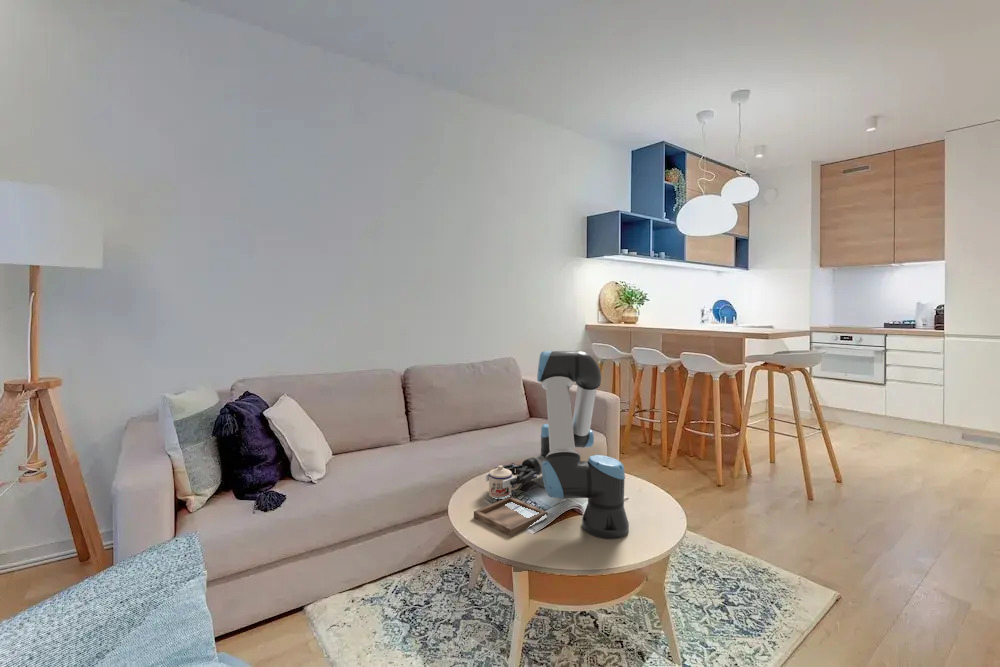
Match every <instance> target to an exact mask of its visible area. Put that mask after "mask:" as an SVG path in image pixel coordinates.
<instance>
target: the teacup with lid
mask: <svg viewBox="0 0 1000 667" xmlns="http://www.w3.org/2000/svg"><path fill="white" fill-rule="evenodd" d="M503 466H504V465H498V466H497V467H498V468H496V469H495V468H493V469H491V470H489V472H488V473H489V481H488V484H489V485H488V490H489V491H488V495H489V497H490V498H491V497H495V498H500V497H505V496H507V495H509V494H510V493H511V494H512V491H515V490H517V489H518V488H519V487H520V484H516V486H515V487H512V486H509V487H507V488H502V486H503V481H504V480H506V479H509V478H512V477H513V474H512V472H511V471H510V470H508V469H505V468H503ZM515 477H516V478H517V476H515Z"/></svg>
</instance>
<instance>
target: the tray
mask: <svg viewBox="0 0 1000 667" xmlns="http://www.w3.org/2000/svg"><path fill="white" fill-rule="evenodd" d="M509 502H513V503H515V504H517V505H520V506H522V507H525V508H528V509H531V510H534V511H536V512H539V514H537V515H534V516H532V517H530V518H526V517H524V516H523V515H521V514H519V513H518V512H517V511H514V510H511V509H510V508H508V507H507V506H505V504H507V503H509ZM546 513H547V514H548V511H546V510H543V509H541V508H539V507H536V506H533V505H532V504H529V503H527V502H525V501H522V500H520V499H517V498H516V497H512V496H511V497H507V498H505V499H502V500H498V501H496V502H493V503H491V504H488V505H486V506H483V507H481V508H478V509H476V510H473V519H475V520H477V521H478V522H480V523H483V524H485V525H487V526H488V527H489V526H490V527H491V528H493V529H495V530H497V531H499V532H501V533H503V534H505V535H506V536H509V537H510V536H511V537H513V536H515V535H517V534H519V533H521V532H523V531H525V530H528V529H529V528H530V527H529V526H530V525H532V524H533V523H534V522H536V521H537V520H539V519H540V518H541V517H542V516H544V515H545V514H546ZM528 527H529V528H528Z"/></svg>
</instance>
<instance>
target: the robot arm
mask: <svg viewBox="0 0 1000 667" xmlns="http://www.w3.org/2000/svg"><path fill="white" fill-rule="evenodd" d="M536 377H537V378H536V379H537V382H538V383H541V387H542V389H543V390H545V395H546V396H545V398H546V410H547V411H546V412H547V423H545V424H542V426H541V427H540V428H541V429H540V454H537V455H535V456H532V457H529V458H527V459H524V460H523V462H521V464H518V465H515V464H516V463H515V462H512V463H510V464H505V465H502V466H503V468H505V469H508V470H510V471H511V472H512V478H509V479H506V480H504V481H503V486H502V488H507V487H509V486H511V487H512V486H514V485H517V484H519V485H521V486H524V485H526V484H528V483H529V482H531V481H533V480H534V479H535V480H536V479H537V478H538V476H540V475H542V480H543V481H542V482H543V487H544V491H545V493H546V494H547V496H548V497H549V498H552V499H554V498H555V499H561V500H562V499H587V504H586V507H585V510H584V512H583V516H582V518H581V519H582V520H581V522H582V523H581V525H582V529H583V530H584V531H585V532H586V533H587V534H590V535H591V536H595V537H597V538H601V537H603V538H602V539H618V537H620V538H623V537H625V536H626V535H627V534H628V533H629V531H630V530H629V529H630V522H629V521H628V516H627V513H626V510H625V499H624V498H625V479H626V474H625V465H624V464H623V463H622V462H621V461H619V459H616V458H614V457H610V456H608V455H607V456H606V455H603V454H594V455H590V456H588V459H587V461H586V460H585V461H584V460H581V454H579V452H577V451H576V448H582V449H583V448H591V447H593V445H594V444H595V443H594V442H595V441H594V439H595V438H594V437H595V436H594V431H593V429H591V426H592V425H591V424H592V419H593V413H594V407H595V402H596V398H597V390H598V389H599V388H600V386H601V382H602V373H601V368H600V366H599V364H598V363H597V361H596V360H595V359H594V357H592V355H590V354H589V353H587V352H584V351H582V350H546V351H545V350H544V351H542V352H540V354H539V358H538V366H537V376H536ZM574 382H575V384H576V385H577V388H576V394H575V402H574V409H573V414H572V405H571V404H572V403H571V393H570V392H571V391H570V389H571V388H572V387H573V384H574ZM496 468H498V466H495V467H494V469H496ZM516 477H517V478H516ZM485 482H489V472H488V473H485ZM624 535H625V536H624ZM622 536H623V537H622Z"/></svg>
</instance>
